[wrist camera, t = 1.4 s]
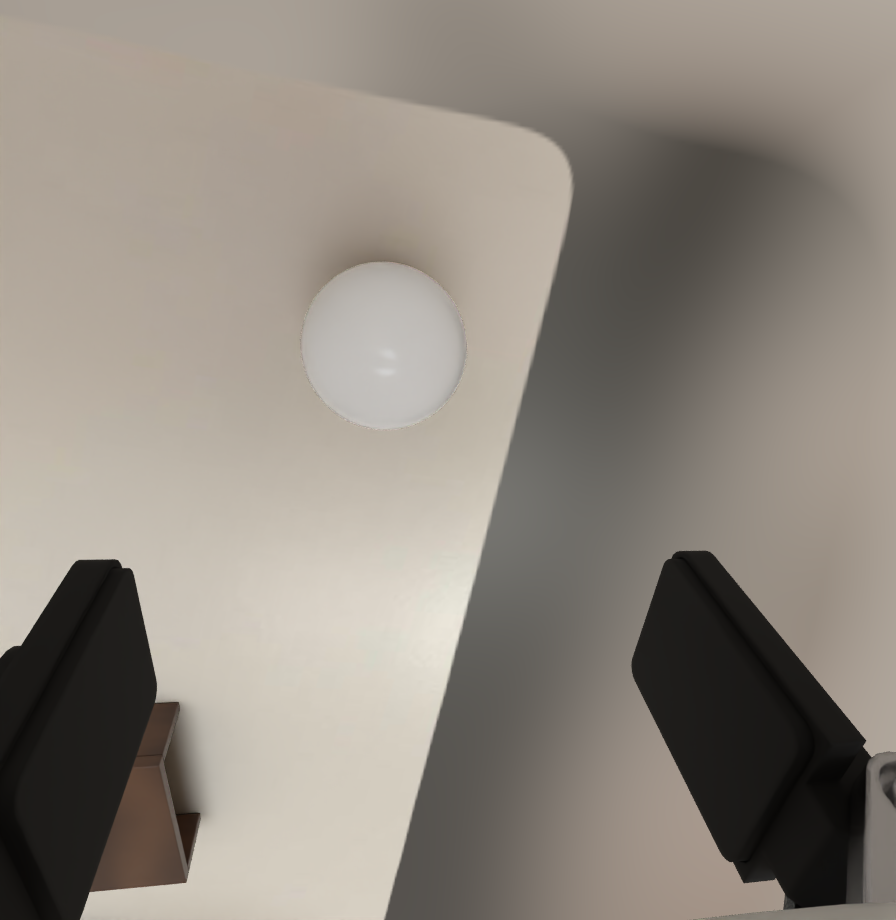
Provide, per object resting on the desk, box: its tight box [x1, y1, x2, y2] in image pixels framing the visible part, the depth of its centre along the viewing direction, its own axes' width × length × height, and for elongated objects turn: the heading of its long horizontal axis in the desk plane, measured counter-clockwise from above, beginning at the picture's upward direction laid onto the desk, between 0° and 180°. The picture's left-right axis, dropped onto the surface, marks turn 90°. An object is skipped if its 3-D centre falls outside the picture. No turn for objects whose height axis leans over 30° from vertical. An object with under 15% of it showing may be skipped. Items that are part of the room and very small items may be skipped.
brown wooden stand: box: [90, 703, 201, 892], centre depth 42 cm, size 10×14×5 cm
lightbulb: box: [300, 261, 467, 430], centre depth 25 cm, size 6×6×11 cm
